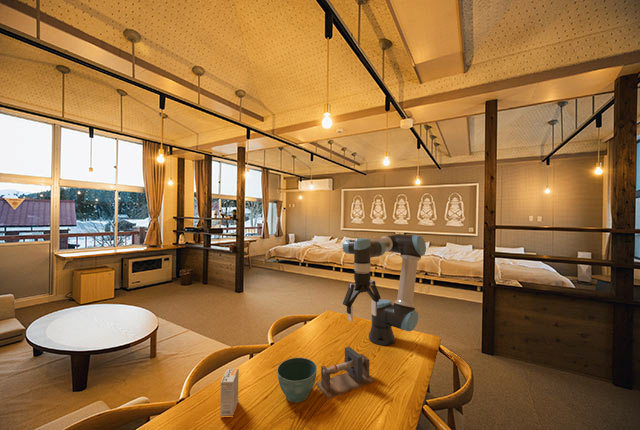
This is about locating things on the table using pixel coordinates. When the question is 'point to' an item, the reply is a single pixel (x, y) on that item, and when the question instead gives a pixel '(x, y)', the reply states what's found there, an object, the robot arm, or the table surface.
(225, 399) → the supplement box
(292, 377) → the flower pot
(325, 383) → the pipe stand
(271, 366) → the table surface
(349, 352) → the ring
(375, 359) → the table surface
